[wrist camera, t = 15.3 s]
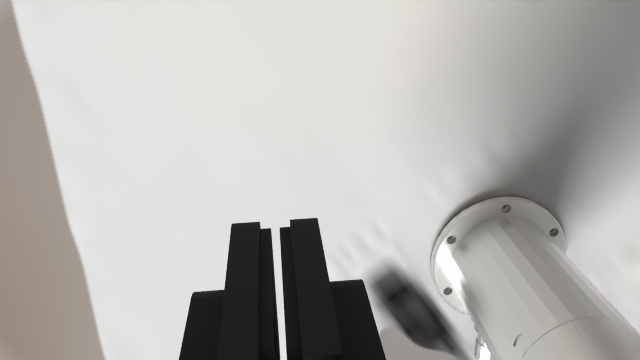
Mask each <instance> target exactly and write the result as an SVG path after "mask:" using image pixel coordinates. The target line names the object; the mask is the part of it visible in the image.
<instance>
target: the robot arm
mask: <svg viewBox="0 0 640 360" xmlns="http://www.w3.org/2000/svg"><path fill="white" fill-rule="evenodd" d="M449 236H450V237H449ZM280 242H281V260H282V278H283V296H284V314H285V331H286V349H287V360H386V358H385V354H384V351H383V347H382V344H381V340H380V337H379V333H378V330H377V327H376V323H375V320H374V316H373V313H372V309H371V306H370V302H369V299H368V295H367V292H366V288H365V285H364V282H363V280H361V279H360V280H346V281H333V282H329V277H328V271H327V266H326V261H325V256H324V250H323V245H322V240H321V235H320V229H319V224H318V219H317V218H309V219H294V220H290V227H282V228H280ZM431 274H432V278H433V281H434V284H435V286H436V288H437V290H438V292H439V294H440V295H441V296H442V298H443V299H444V300H445V302H447V303H448V304H449V305H450V306H451V307H452V308H454V309H456V310H458V311H460V312H461V313H464V314H467V315H470V316H471V318H472V320H473V322H474V328H475V330H476V331H477V332H478V335H477V338H476V346H475V356H476V358H477V359H479V360H640V333H639V332H638V331H637V330H636V329H635V328H634V327H633V326H632V325H631V324H630V323H629V322H628V321H627V320H626V319H625V318H624V317H623V316H622V314H621V313H620V312H619V311H618V310H617V309H616V308H615V307H614V306H613V305H612V304H611V303H610V302H609V301H608V300H607V299H606V298H605V296H604V295H603V294H602V293H601V292H600V291H599V290H598V289H597V288H596V287H595V286H594V285H593V284H592V283H591V282H590V281H589V279H588V278H587V277H586V276H585V275H584V274H583V273H582V272H581V271H580V270H579V269H578V268H577V267H576V266H575V265H574V264H573V262H572V261H571V260H570V259H569V258H568V257H567V256H566V242H565V236H564V233H563V231H562V228H561V226H560V224H559V223H558V222H557V220H556V219H555V218H554V216H553V215H551V214H550V213H549V212H548V211H547V210H546V209H545V208H543V207H542V206H540V205H539V204H537V203H536V202H533V201H530V200H528V199H525V198H519V197H496V198H491V199H487V200H484V201H481V202H479V203H476V204H474V205H472V206H470V207H468V208H467V209H465V210H463V211H462V212H460V213H459V214H458V215H457V216H455V217H454V218H453V219H452V220H451V221H450V222H449V223H448V224H447V226H446V227H445V228H444V229H443V230H442V232H441V234H440V235H439V237H438V239H437V240H436V243H435V246H434V248H433V251H432V257H431ZM179 360H280V348H279V333H278V319H277V305H276V291H275V277H274V263H273V249H272V236H271V228H268V229H260V222H250V223H236V224H232V226H231V235H230V244H229V253H228V262H227V272H226V281H225V290H215V291H202V292H194V293H193V294H192V297H191V301H190V306H189V312H188V317H187V322H186V327H185V332H184V337H183V342H182V347H181V352H180V357H179Z"/></svg>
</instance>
